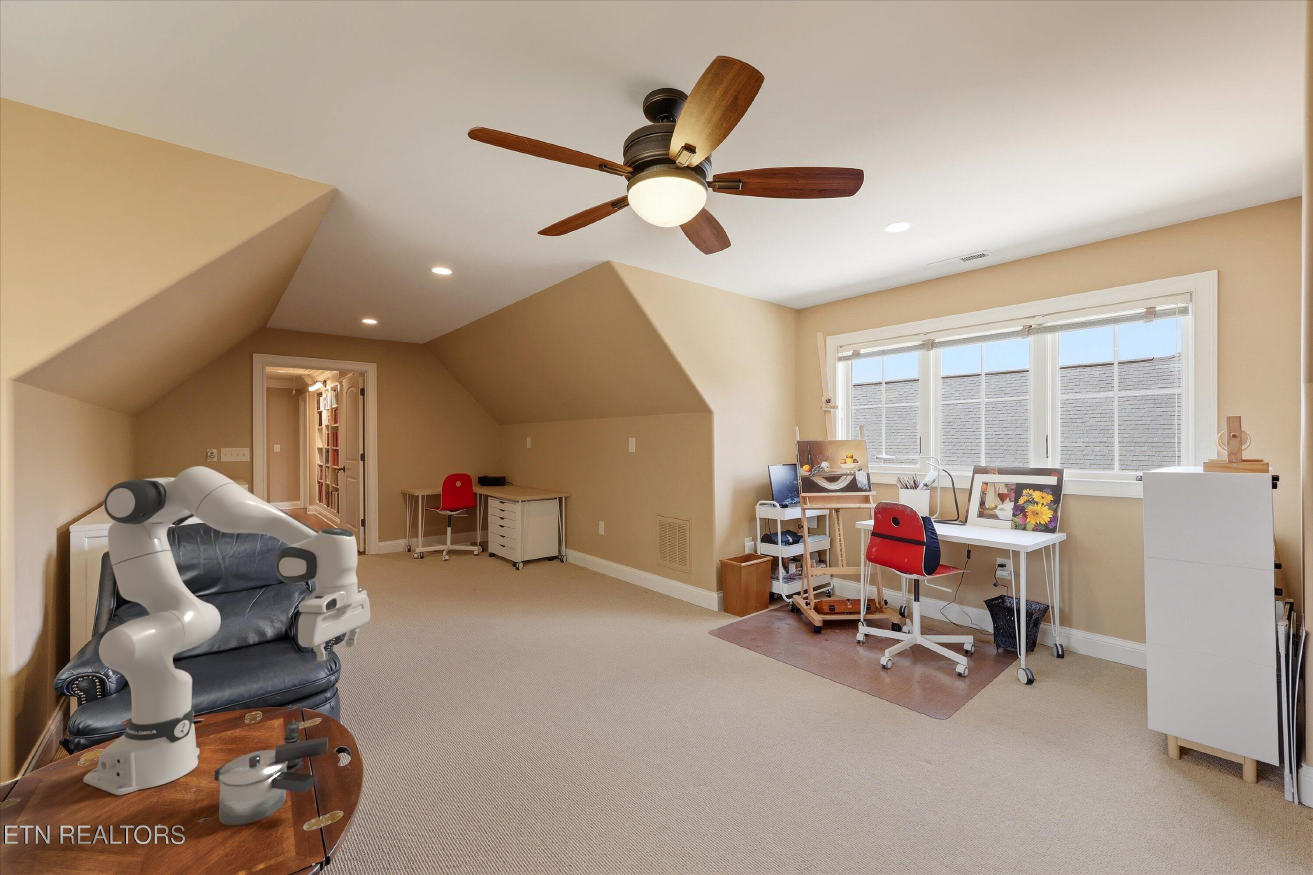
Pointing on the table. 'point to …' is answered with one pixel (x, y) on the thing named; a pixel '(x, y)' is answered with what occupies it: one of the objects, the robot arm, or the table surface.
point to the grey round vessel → (293, 737)
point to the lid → (269, 762)
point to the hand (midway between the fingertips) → (337, 652)
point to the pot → (258, 796)
